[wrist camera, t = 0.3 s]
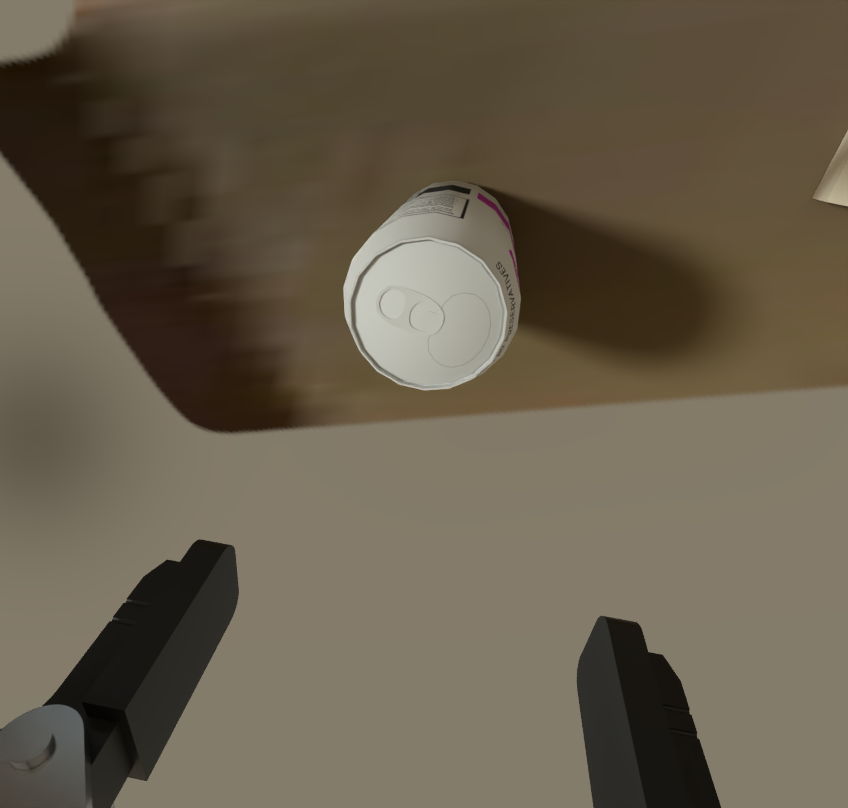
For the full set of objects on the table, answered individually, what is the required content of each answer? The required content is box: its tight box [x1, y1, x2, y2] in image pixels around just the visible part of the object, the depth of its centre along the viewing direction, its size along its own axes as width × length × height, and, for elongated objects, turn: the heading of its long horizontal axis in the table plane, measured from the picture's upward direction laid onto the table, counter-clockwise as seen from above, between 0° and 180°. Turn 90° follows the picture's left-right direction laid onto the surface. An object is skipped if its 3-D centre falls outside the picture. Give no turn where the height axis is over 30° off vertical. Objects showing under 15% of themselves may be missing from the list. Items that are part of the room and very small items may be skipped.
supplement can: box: [343, 180, 521, 390], centre depth 29 cm, size 8×8×15 cm
